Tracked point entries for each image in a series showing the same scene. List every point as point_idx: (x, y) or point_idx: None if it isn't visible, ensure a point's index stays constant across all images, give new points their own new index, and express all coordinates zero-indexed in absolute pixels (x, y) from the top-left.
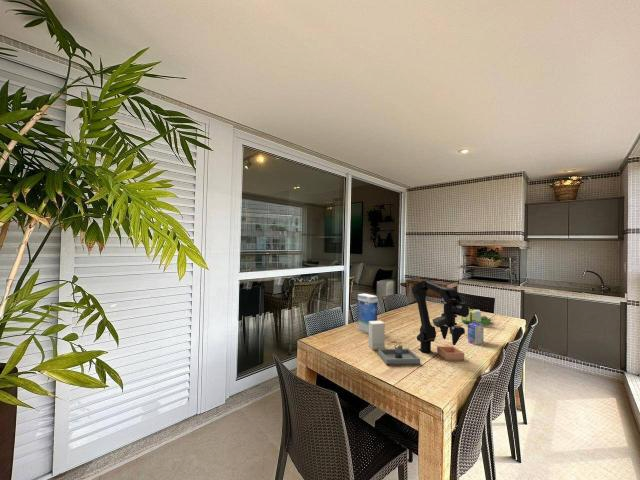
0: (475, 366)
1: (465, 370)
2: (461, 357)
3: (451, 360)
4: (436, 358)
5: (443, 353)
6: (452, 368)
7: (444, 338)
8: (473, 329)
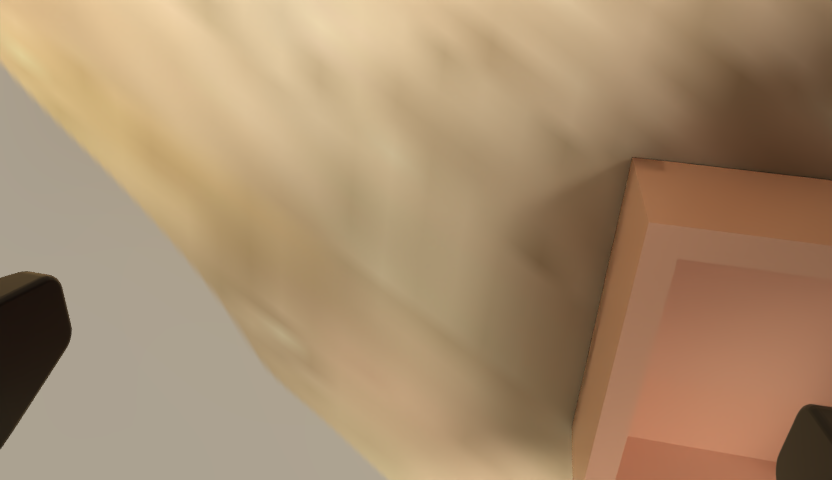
0: (361, 417)
1: (239, 204)
2: (581, 428)
3: (613, 246)
4: (809, 12)
5: (789, 215)
6: (309, 41)
7: (795, 452)
8: None
